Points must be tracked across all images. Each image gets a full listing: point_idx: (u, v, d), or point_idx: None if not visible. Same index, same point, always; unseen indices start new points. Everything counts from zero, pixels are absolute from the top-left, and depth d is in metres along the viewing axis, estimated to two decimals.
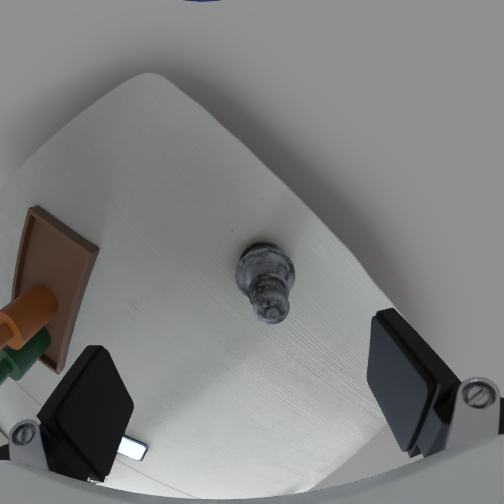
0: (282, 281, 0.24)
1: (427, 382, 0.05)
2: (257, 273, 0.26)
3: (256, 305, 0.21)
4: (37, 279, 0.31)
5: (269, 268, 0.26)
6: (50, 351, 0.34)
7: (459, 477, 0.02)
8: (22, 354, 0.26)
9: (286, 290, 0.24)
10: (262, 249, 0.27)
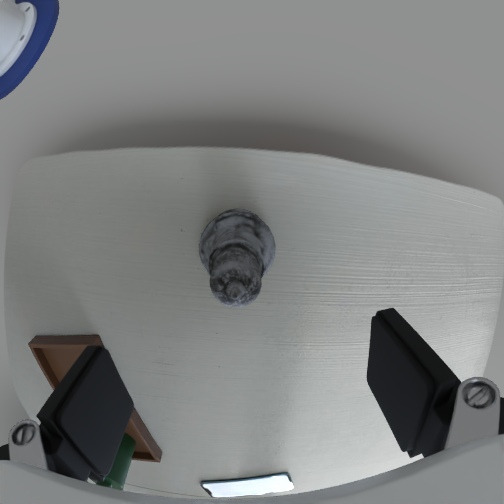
0: (238, 243, 0.18)
1: (427, 382, 0.05)
2: None
3: (214, 294, 0.15)
4: None
5: (224, 239, 0.20)
6: (140, 446, 0.33)
7: (459, 477, 0.02)
8: None
9: (251, 249, 0.18)
10: (209, 225, 0.21)
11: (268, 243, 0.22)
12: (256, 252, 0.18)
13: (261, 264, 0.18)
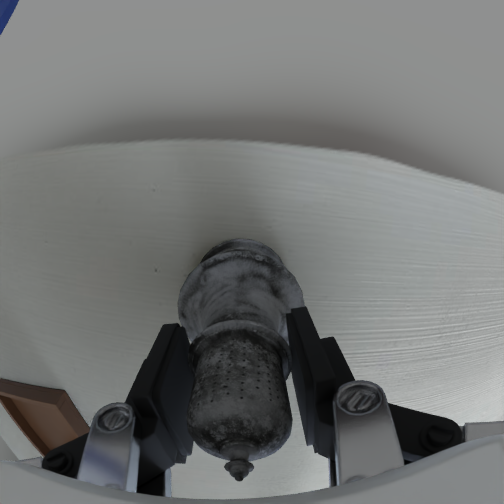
0: (244, 329, 0.09)
1: (307, 378, 0.06)
2: None
3: (197, 444, 0.06)
4: (57, 445, 0.21)
5: (219, 306, 0.11)
6: None
7: (459, 477, 0.02)
8: None
9: (270, 339, 0.09)
10: (193, 274, 0.12)
11: (293, 304, 0.13)
12: (278, 344, 0.09)
13: (287, 362, 0.09)
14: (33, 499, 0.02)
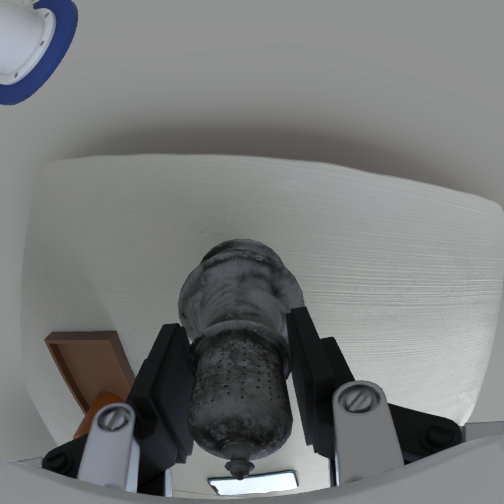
0: (244, 328, 0.09)
1: (307, 378, 0.06)
2: None
3: (198, 444, 0.06)
4: (94, 391, 0.32)
5: (219, 306, 0.11)
6: None
7: (459, 477, 0.02)
8: None
9: (270, 339, 0.09)
10: (193, 274, 0.12)
11: (294, 303, 0.13)
12: (279, 343, 0.09)
13: (288, 362, 0.09)
14: (33, 499, 0.02)
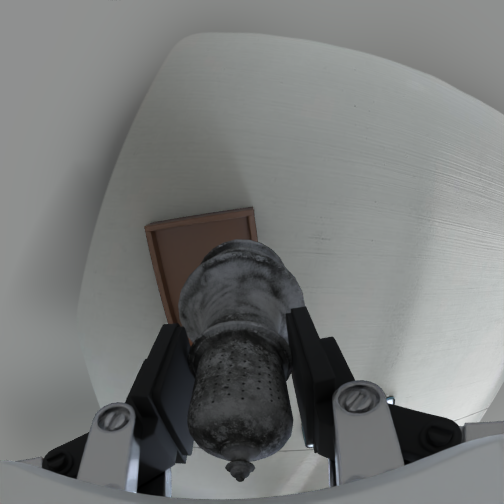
0: (244, 330, 0.09)
1: (307, 378, 0.06)
2: None
3: (198, 445, 0.06)
4: None
5: (219, 307, 0.11)
6: None
7: (459, 477, 0.02)
8: None
9: (270, 340, 0.09)
10: (193, 275, 0.12)
11: (294, 304, 0.13)
12: (279, 344, 0.09)
13: (288, 362, 0.09)
14: (33, 499, 0.02)
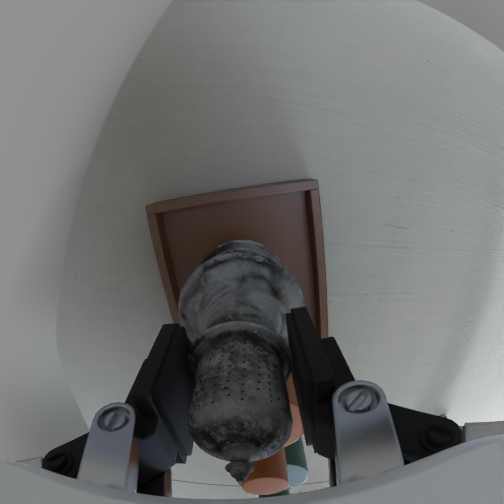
0: (244, 330, 0.09)
1: (307, 378, 0.06)
2: None
3: (198, 445, 0.06)
4: None
5: (219, 307, 0.11)
6: None
7: (459, 477, 0.02)
8: None
9: (270, 340, 0.09)
10: (193, 275, 0.12)
11: (294, 304, 0.13)
12: (279, 345, 0.09)
13: (288, 363, 0.09)
14: (33, 499, 0.02)
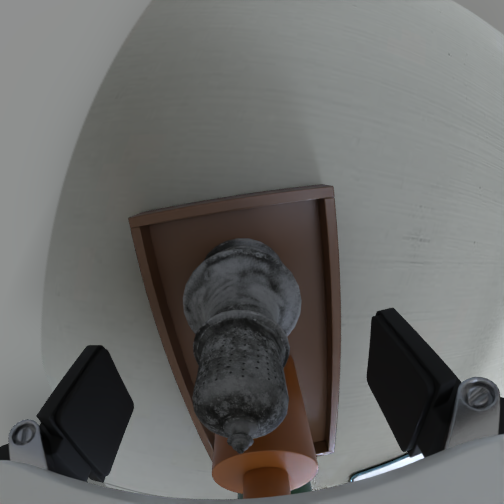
0: (245, 318, 0.10)
1: (427, 382, 0.05)
2: None
3: (202, 423, 0.07)
4: None
5: (222, 299, 0.12)
6: None
7: (459, 477, 0.02)
8: None
9: (269, 327, 0.10)
10: (197, 270, 0.13)
11: (291, 298, 0.14)
12: (276, 332, 0.10)
13: (285, 350, 0.10)
14: (33, 499, 0.02)
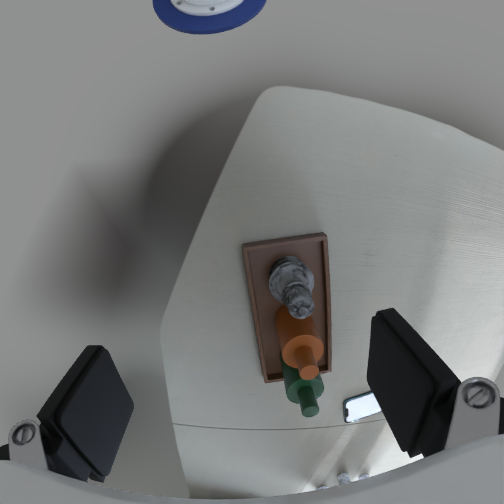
0: (299, 284, 0.32)
1: (427, 382, 0.05)
2: (282, 287, 0.34)
3: (291, 312, 0.30)
4: (277, 304, 0.41)
5: (288, 279, 0.34)
6: None
7: (459, 477, 0.02)
8: None
9: (306, 287, 0.32)
10: (276, 269, 0.36)
11: (310, 279, 0.36)
12: (308, 288, 0.32)
13: (310, 294, 0.33)
14: (33, 499, 0.02)
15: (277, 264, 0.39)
